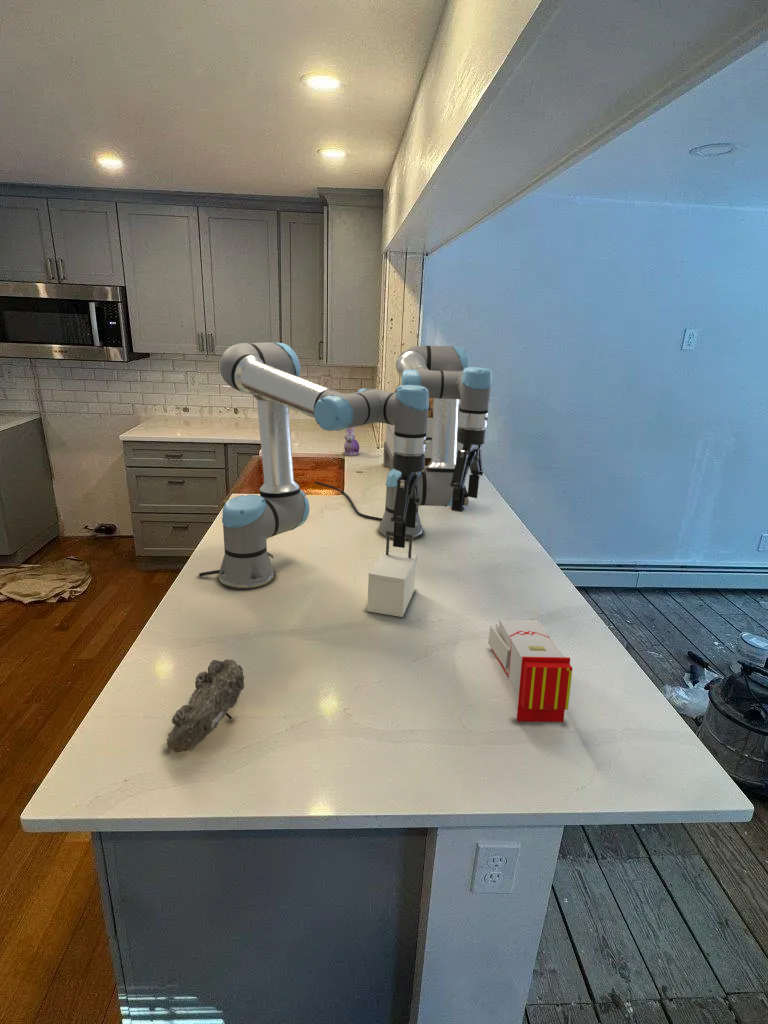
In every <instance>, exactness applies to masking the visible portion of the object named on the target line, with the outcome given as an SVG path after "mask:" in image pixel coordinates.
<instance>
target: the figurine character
mask: <svg viewBox="0 0 768 1024" xmlns="http://www.w3.org/2000/svg"><path fill="white" fill-rule="evenodd" d="M467 496H468V489H467V487H466V485H465V486H464V495H463V506H462V511H464V510H465V507H468V506H469V502H470V501H469V497H467Z"/></svg>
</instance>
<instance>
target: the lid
mask: <svg viewBox="0 0 768 1024" xmlns="http://www.w3.org/2000/svg"><path fill="white" fill-rule="evenodd" d="M386 535H387V537H386V540H385V541H386V542H385V546H386V547H385V549H384V550H383V551H382V552H381V554H380V556H379V557H378V559H377V560H376V562H375V563H374V565H373V566H372V568H371V569H370V570H369V573H368V579H369V578H376V579H382V580H389V581H395V582H402V583H405V581H406V579H407V577H408V575H409V573H410V571H411V569H412V567H413V565H414V563H415V561H416V562H417V558H418V554H413V553H412V549H413V540H414V539H413V533H406V536H405V538H409V540H408V553H406V552H399V551H392V550H390V540H391V539H390V536H394V531H390V530H387V531H386Z"/></svg>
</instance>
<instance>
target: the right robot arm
mask: <svg viewBox="0 0 768 1024" xmlns="http://www.w3.org/2000/svg"><path fill="white" fill-rule="evenodd" d="M395 370H396V372H397V374H398V376H399V377H400V386H401V385H417V386H423V387H426V388H427V389H428V391H429V398H434V401H433V428H432V454H431V463H430V464H429V465H428V466H426V471H423V470H422V471H420V472H418V495H419V497H418V498H420V502H419V503H417V502H415V503H417V506H416V522H415V528H410V527H406V533H413V539H412V540H415V539H418V538H420V537H421V536H422V535H423V525H422V524H421V518H420V515H419V507H420V506H424V507H425V506H427V507H428V506H429V507H451V511H453V512H460V513H462V512H463V510H462V506H463V507H464V505H463V495H464V486H465V487H466V485H465V484H466V478H467V475H468V472H469V470H470V474H469V475H468V476H469V477H468V487H467V492H468V496H467V497H468V498H472V499H478V495H479V483H480V476H483V475H484V471H483V469H484V468H483V453H482V449H483V447H482V446H483V445H484V444H486V437H487V429H486V428H487V425H488V421H490V417H489V416H488V415H489V407H490V399H491V398H490V397H491V390H492V385H493V380H492V378H493V376H492V375H493V372H492V370H491V369H490V368H486V367H478V366H476V367H475V366H471V365H470V357H469V354H468V351H467V350H466V349H465V348H464V347H461V346H453V345H423V344H422V345H415V346H412V347H409V348H407V349H405V350H403V351H402V352H401V353H400V354H399V356H397V359H396V363H395ZM459 400H460V401H459ZM458 403H459V405H460V410H459V418H458ZM458 426H460V427H459V428H458V431H457V427H458ZM457 441H458V442H459V443H462V449H461V450H458V453H457V460H456V451H457ZM399 477H401V472H400V471H397V470H395V469H392V470H391V471H390V470H388V473H387V475H386V482H385V487H386V488H385V489H386V490H385V504H384V505H385V507H384V508H385V509H384V513H383V515H382V517H378V516H373V515H367V514H363V513H361V512H359V511H358V509H357V507H356V505H355V504H354V503H353V501H352V499H351V498H350V496H349V495H348V494H347V493H346V492H345V491H343V490H342V489H340V488H337V487H335V486H333V485H330V484H328V483H327V484H326V483H323V482H319V481H316V480H315V481H314V484H315V485H320V486H324V487H327V488H329V489H333V490H335V491H338V492H339V493H341V494H342V495H344V496H345V497H346V499H347V500H348V503H350V505H351V507H352V509H353V510H354V512H355V514H357V515H358V516H360V517H362V518H365V519H366V518H367V519H371V520H377V521H381V522H379V526H378V533H379V534H380V535H381V536H382V537H385V538H387V535H386V531H387V530H390V531H394V522H393V521H391V518H393V513H394V506H395V499H396V492H397V480H398V479H399ZM398 517H401V516H398ZM393 538H394V536H390V540H393ZM405 541H409V538H405Z"/></svg>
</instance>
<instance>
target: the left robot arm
mask: <svg viewBox="0 0 768 1024" xmlns="http://www.w3.org/2000/svg"><path fill="white" fill-rule="evenodd" d="M219 370H220V371H219V372H220V375H221V377H222V379H223V381H224V382H225V383H226V384H227V385H228V386H229V387H231V388H232V389H234V390H236V391H238V392H241V393H243V394H246V395H247V394H249V395H251V396H252V397H254V399H255V400H256V404H257V412H258V413H257V415H258V426H259V438H260V439H259V440H260V448H261V450H260V452H261V460H262V472H263V483H262V485H261V486H260V487H259V495H258V494H246V495H245V494H242V495H238V496H235V497H233V498H231V499H229V500H228V501H226V502H225V503H224V505H223V507H222V515H221V516H222V517H221V522H222V529H223V530H222V531H223V532H222V533H223V547H224V548H223V549H224V555H223V559H222V562H221V565H220V568H219V569H216V570H210V571H204V572H199V573H198V576H199V577H205V576H211V575H218V577H219V579H218V580H219V581H220V583H221V585H224V586H225V587H227V588H231V589H234V590H235V589H236V590H251V589H257V588H260V587H263V586H265V585H267V584H269V583H271V582H272V581H273V580H274V577H275V573H274V572H275V570H274V567H273V564H272V561H271V559H274V555H273V554H272V553H270V552H269V551H267V539H270V538H272V537H275V536H279V535H280V534H283V533H287V532H289V531H293V530H295V529H297V528H298V527H301V526H302V525H304V524H305V523H306V522H307V520H308V517H309V515H310V502H309V498H308V497H306V493H305V492H304V491H303V490H301V486H300V485H299V483H297V482H296V481H295V476H294V463H293V462H294V460H293V450H292V447H293V446H292V435H291V421H290V420H291V419H290V409H291V410H294V411H297V412H299V413H301V414H304V415H305V416H308V417H311V418H312V419H314V420H315V422H316V424H317V425H319V427H320V428H321V429H322V430H324V431H326V432H327V431H328V432H333V431H335V432H339V431H340V432H341V431H344V430H346V428H349V429H351V427H354V428H355V427H361V426H365V425H370V424H376V423H379V424H386V425H387V424H390V425H395V430H394V431H395V433H394V447H393V450H394V451H395V453H394V454H393V468H394V469H395V470H397V471H400V472H401V477H399V479H398V480H397V492H396V499H395V506H394V513H393V518H391V521H393V522H394V538H393V539H392V547H393V548H402V549H405V548H406V540H405V536H406V527H410V528H415V522H416V506H417V503H419V502H420V498H418V497H419V495H418V472H420V471H422V472H423V471H424V470H425V467H426V466H425V455H424V454H423V453H424V452H425V447H426V445H427V444H428V443H429V442H428V440H425V439H426V430H427V418H428V409H429V391H428V389H427V388H426V387H423V386H417V385H401V384H400V386H398V385H397V386H398V387H397V386H396V388H397V390H396V389H395V390H396V393H394V392H395V391H394V392H392V391H387V390H380V389H376V388H365V387H363V388H359V389H358V390H357V391H356V392H350V393H342V392H339V391H336V390H333V389H331V388H329V387H326V386H324V385H321V384H319V383H316V382H313V381H311V380H308V379H306V378H303V377H300V375H301V364H300V360H299V357H298V355H297V353H296V352H295V350H293V349H292V347H291V346H290V345H288V344H286V343H284V342H274V341H270V342H240V343H235V344H233V345H230V347H228V348H227V349H226V350H224V352H223V353H222V355H221V357H220V362H219ZM415 502H417V503H415ZM398 516H401V517H398Z"/></svg>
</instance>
